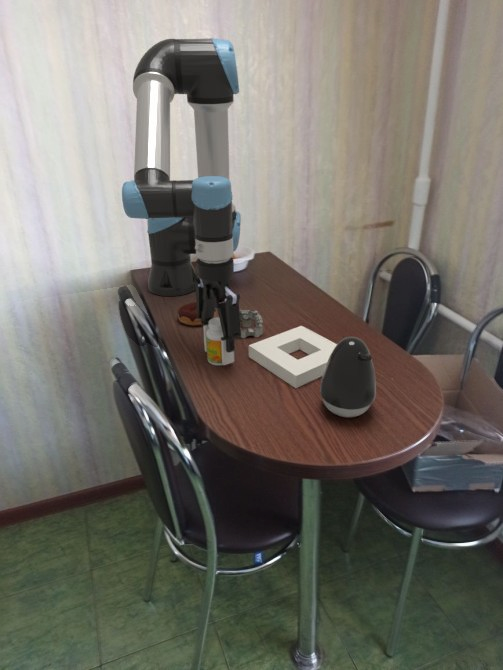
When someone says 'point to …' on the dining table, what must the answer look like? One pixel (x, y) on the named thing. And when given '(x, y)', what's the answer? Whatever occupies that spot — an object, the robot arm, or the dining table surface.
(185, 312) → the donut
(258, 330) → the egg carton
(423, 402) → the dining table surface
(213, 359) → the supplement bottle
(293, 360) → the socket holder
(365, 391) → the pump dispenser
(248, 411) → the dining table surface
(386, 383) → the dining table surface
